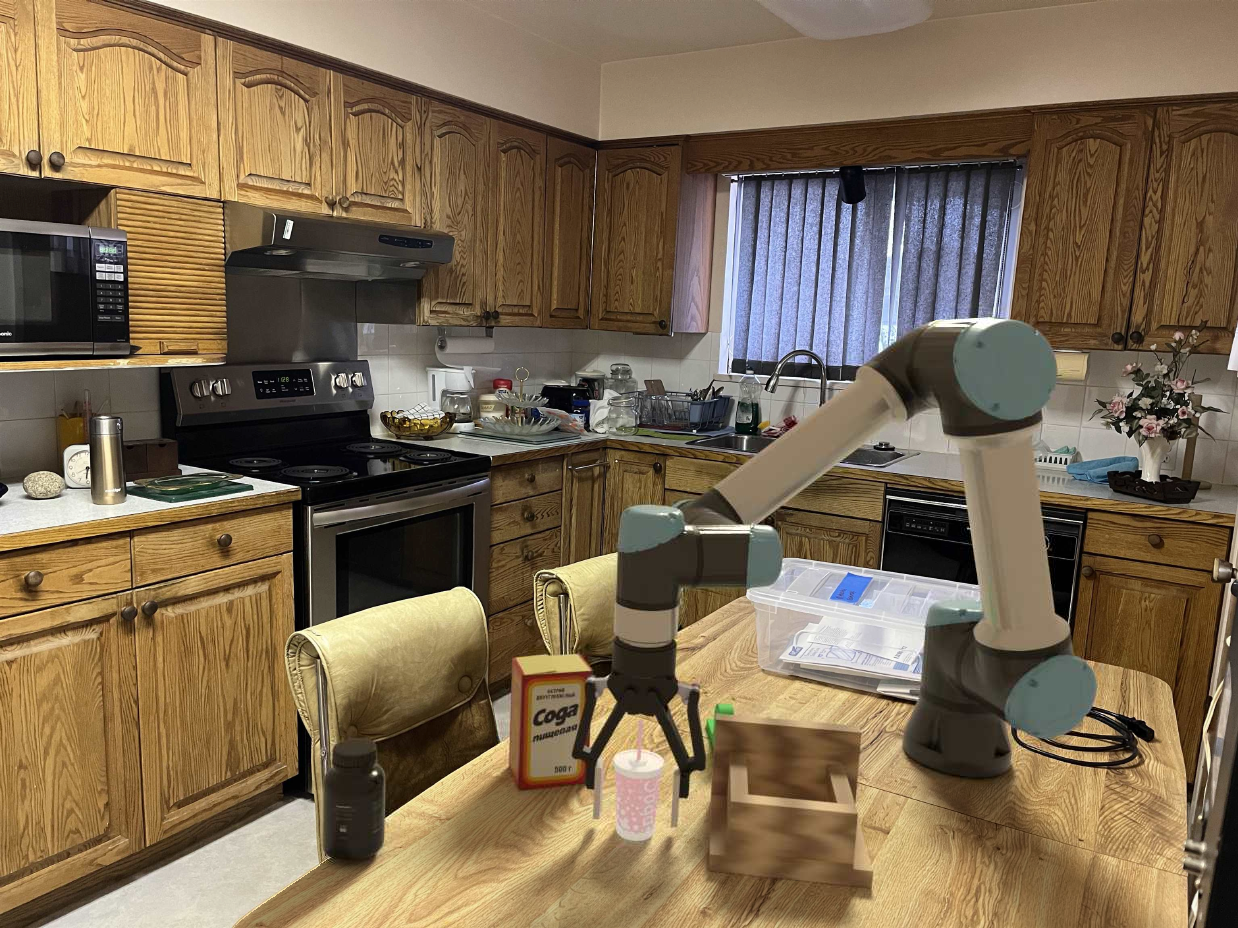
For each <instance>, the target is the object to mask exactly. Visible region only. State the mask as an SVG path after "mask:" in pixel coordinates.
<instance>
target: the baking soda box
mask: <svg viewBox="0 0 1238 928" xmlns="http://www.w3.org/2000/svg"><path fill="white" fill-rule="evenodd" d="M511 660H512V661H511V686H510V687H511V689H510V713H509V714H510V716H509V717H510V719H509V720H510V721H509V743H508V744H509V749H508V752H509V753H508V769H509V768H510V769H509V771H510V770H511V771H510V773H512V774H511V777H512V778H514V779H513V781H514V783H515V786H516V788H517V790H518V791H521V790H529V789H530V790H531V789H541V788H550V787H559V786H567V785H577V784H578V785H579V784H586V763H585V762H584V761H582V760H580V759H574V758H573V757H572V750H573V746H574V743H575V739H576V735H577V732H578V728H579V724H580V720H581V717H582V713H583V709H584V706H585V702H586V698H585V688H584V687H585V683H586V681H587V678H588V676H590V675H594V670H593V668H592V667H591V666H590V665H589V663H588V662H587V661H586V660H585V658H584V657H583V656H582V655H581V653H573V654H571V653H570V654H556V655H553V654H552V655H548V654H538V655H537V654H536V655H528V656H519V657H512V659H511ZM591 724H592V723H591ZM591 724H590V728H589V732H588V735H587V739H586V743H585V746H587V747H589V748H591V747H590V745H591Z"/></svg>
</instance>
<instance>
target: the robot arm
mask: <svg viewBox="0 0 1238 928" xmlns="http://www.w3.org/2000/svg"><path fill="white" fill-rule="evenodd" d="M1057 380H1058V362H1057V358H1056V356H1055V352H1054V350H1053V348H1052V346H1051V344H1050V343H1049V341H1048V339H1047V338H1046V337H1045V336H1044V335H1043V334H1042V333H1041V332H1040V331H1039V330H1037V329H1036V328H1034V327H1033V326H1031V324H1029V323H1027V322H1023V321H1020V320H1017V319H1007V318H1004V317H996V316H992V317H978V318H977V317H975V318H974V317H973V318H959V319H954V318H953V319H952V318H949V319H948V318H946V319H936V320H934V321H930V322H928V323H927V322H926V323H924V324H922V325H920V326H918V327H916V328H915V329H912V330H910V331H909V332H907V333H905V335H903V336H902V337H900V338H898V339H897V340H895V341H894V342H893V343H891V344H890V345H888V346H887V347H886V348H884V349H883V350H882V351H880V352H879V353H877V354H876V355H875V356H873V357H872V358H871V359H869V360H868V361H867V362H865V363H864V364H862V365H861V366H860V367H859V368H857V370H856V374H855V380H854V381H852V382H851V383H850V384H848V385H847V386H846V387H845V388H843V389H842V390H841V391H839V392H838V393H836V394H835V395H834V396H832V397H831V398H830V399H829V400H827V401H826V402H825V403H823V404H822V405H821V406H819V407H818V408H816V410H814V411H813V412H811V413H810V414H808V415H807V416H806V417H804V418H803V419H802V420H801V421H799V422H798V423H797V424H795V425H794V426H793V427H791V428H790V429H789V430H787V431H786V432H785V433H783V434H782V435H781V436H779V437H778V438H776V439H775V440H774V441H772V442H771V443H770V444H769V445H768V446H766V447H765V448H763V449H762V450H761V451H760V452H758V453H757V454H755V455H754V456H752V457H751V458H750V459H749V460H747V461H746V462H745V463H743V464H742V465H740V467H738V468H736V470H734V471H732V472H731V473H729V475H728V476H726V477H725V478H723V479H722V480H720V481H719V482H718V483H717V484H716V485H714V486H712V487H711V488H710V489H708V490H707V491H705V492H704V493H703V494H701V495H700V496H698V497H697V498H695V499H684V500H680V501H678V502H675V503H674V504H673V505H671V506H667V505H657V504H639V505H638V504H637V505H633V506H629V507H627V508H625V509H624V511H622V512H621V515H620V520H619V527H618V535H617V536H618V538H617V543H616V549H617V553H616V554H617V557H616V558H617V559H616V560H617V561H616V587H615V592H616V594H615V599H614V617H613V634H614V635H616V636H615V637H614V638H613V641H612V660H611V671H610V674H609V675H608V677H597V676H596V675H594V674H593V675H590V676H588V678H587V681H586V683H585V687H584V688H585V698H586V702H585V706H584V709H583V713H582V717H581V720H580V724H579V728H578V732H577V735H576V739H575V743H574V746H573V750H572V757H573V758H574V759H580V760H582V761H584V762H585V763H586V783H585V787H586V790H591V791H593V809H592V810H593V811H592V820H600V817H601V813H602V810H603V796H604V795H603V793H604V773H605V757H601V755H602V753H603V752H604V750H605V748H606V747H607V744H608V743H609V741H610V739H611V738H612V736H613V734H614V733H615V731H616V729H617V727H618V726H619V724H620V722H621V721H623V720H622V719H624V716H625V714H626V713H627V715H629V716H637V715H642V716H645V717H649V718H650V717H653V718H654V716H655V719H656V720H657V722H658V725H659V726H660V727H661V730H662V732H663V735H664V737H665V739H666V741H667V744H668V747H669V748H670V751H671V753H672V755H673V757H674V760H675V762H676V764H674V768H673V769H674V770H673V783H672V798H671V799H672V800H671V801H672V802H671V814H670V815H671V817H670V828H671V827H672V828H678V820H679V807H680V799H685V800H687V799H688V798H689V795H690V781H691V774H692V773H693V772H696V771H699V772H703V771H704V770H706V766H707V754H706V748H705V747H706V746H705V743H704V736H703V729H702V724H701V723H702V721H701V715H700V711H699V710H700V709H699V701H700V699H701V686H700V685H699V684H698V683H692V684H691V685H688V684H685V683H684V684H683V683H679V681H678V679H677V676H676V675H677V674H676V667H677V665H676V664H677V662H676V661H677V651H678V650H677V648H678V647H677V646H678V645H677V641H676V640H675V639H676V637H678V627H679V614H680V613H679V612H680V599H681V598H680V594H681V589H746V590H750V589H754V588H764V587H765V588H766V587H770V586H772V585H774V584H775V583H776V582H777V581H778V579H779V577H780V575H781V572H782V569H783V557H784V555H783V554H784V553H783V545H782V541H781V538H780V535H779V534H778V532H777V530H776V529H775V528H774V527H772V526H770V525H768V524H767V525H765V524H759V523H760V522H762V521H763V520H765V519H766V518H767V517H768V516H769V515H771V514H772V513H773V512H775V511H776V510H778V509H779V508H781V507H782V506H784V504H786V503H787V502H788V501H790V500H791V499H793V497H795V496H796V495H797V494H799V493H800V492H802V491H803V490H804V489H806V488H808V487H809V486H810V485H811V484H813V482H815V481H816V480H818V479H819V478H821V477H822V476H823V475H825V474H826V473H828V471H830V470H831V469H832V468H834V467H835V466H836V465H837V464H839V463H841V461H843V460H844V459H846V458H847V457H848V456H849V455H851V454H852V453H854V452H855V451H856V450H858V449H859V448H860V447H862V446H863V445H864V444H866V443H867V442H868V441H869V440H871V439H873V437H876V435H877V434H879V433H880V432H882V431H883V430H884V429H886V428H887V427H888V426H890V425H897V426H902V425H903V424H905V423H906V422H908V421H909V420H910V419H911V418H913V417H914V416H916V415H918V414H920V413H923V412H926V411H929V410H932V409H939V413H940V421H941V427H942V432H943V436H944V437H946V438H947V439H948V440H950V441H952V443H953V442H954V443H955V444H956V446H957V447H958V448H957V449H958V454H959V459H960V460H959V461H960V467H961V473H962V480H963V487H964V495H965V503H966V507H967V514H968V522H969V527H970V535H971V542H972V548H973V556H974V562H975V569H976V574H977V582H978V584H977V585H978V589H979V590H978V591H979V597H980V601H978V600H976V601H975V600H963V599H962V600H960V599H959V600H957V599H956V600H942V601H937V602H934V603H933V604H931V606H929V608H928V611H927V614H926V621H925V623H924V629H925V632H924V639H923V640H924V641H923V653H922V663H921V673H920V688H919V695H918V696H919V697H918V699H917V701H916V704H915V706H914V707H913V709H912V712H911V714H910V716H909V718H908V721H907V723H906V725H905V727H904V728H903V734H902V749H903V750H904V752H905V753H906V755H908V756H909V757H910V758H911V759H913V760H914V761H916V762H918V763H919V764H921V765H924V766H926V767H929V768H931V769H932V770H936V771H939V772H943V773H946V774H950V775H954V776H962V777H968V778H989V777H990V778H991V777H996V776H1000V775H1003V774H1005V773H1006V772H1007V771H1009V770H1010V768H1011V765H1012V756H1013V755H1012V754H1013V752H1012V745H1011V741H1010V736H1009V732H1008V728H1007V724H1006V723H1008V725H1010V727H1012V728H1013V729H1015V730H1018V731H1021V732H1023V733H1025V734H1027V735H1029V736H1031V737H1034V738H1036V739H1037V738H1038V739H1053V738H1057V737H1061V736H1064V735H1065V734H1067V733H1070V732H1071V731H1072V730H1074V729H1075V728H1077V727H1078V726H1079V725H1080V724H1081V723H1082V722H1083V720H1084V718H1085V717H1086V716H1087V714H1089V713H1090V712H1091V709H1092V708H1093V705H1094V703H1095V700H1096V696H1097V690H1098V689H1097V688H1098V684H1097V677H1096V674H1095V672H1094V670H1093V668H1092V667H1091V665H1089V663H1087V662H1086V660H1085V659H1084V658H1082V657H1081V656H1077V655H1075V654H1074V651H1073V649H1074V648H1073V642H1072V635H1071V628H1070V625H1069V622H1068V621H1066V620H1065V619H1064V618H1063V617H1061V616H1060V615H1058V614H1057V613H1055V612H1056V611H1055V605H1054V596H1053V589H1052V583H1051V573H1050V566H1049V559H1048V551H1047V544H1046V535H1045V529H1044V521H1043V514H1042V507H1041V497H1040V492H1039V485H1038V484H1039V483H1038V477H1037V470H1036V469H1037V468H1036V462H1035V461H1036V460H1035V453H1034V446H1033V439H1032V438H1033V437H1032V436H1033V434H1034V432H1036V430H1037V429H1038V428H1040V425H1042V424H1043V422H1044V417H1043V413H1042V412H1043V410H1042V409H1043V408H1044V407H1045V406H1046V405H1047V403H1048V402H1049V401H1050V399H1051V396H1050V394H1051V392H1053V391H1055V388H1056V385H1057ZM605 689H608V690H609V692H610V694H611V695H612V696H613V698H614V700H615V701H616V703H615V704H614V706H613V708H612V710H611V712H610V714H609V716H608V718H607V719H606V720H605V723H604V725H603V726H602V727H601V730H600V731H599V733H598V734H597V736H596V738H595V740H594V742H593V744H592V745H591V747H590V748H589V747H587V746H585V743H586V739H587V735H588V732H589V728H590V729H591V727H590V724H592V719H593V716H594V713H595V709H596V706H597V701H598V698H601V697H602V696H603V694H604V690H605ZM676 695H679V696H680V697H681V698H680V699H681V703H682V704H683V705H685V706H687V707H686V715H687V720H688V721H687V722H688V728H689V734H690V735H689V736H690V740H691V745H692V747H691V748H692V752H693V755H692V756H689V755H690V754H689V753H688V751H687V749H686V746H685V743H684V741H683V739H682V736H681V734H680V732H679V729H678V727H677V725H676V722H675V720H674V718H673V715H672V713H671V708H670V705H669V703H670V702H671V701H672V700H673V699H674V698H675V697H676Z"/></svg>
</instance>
